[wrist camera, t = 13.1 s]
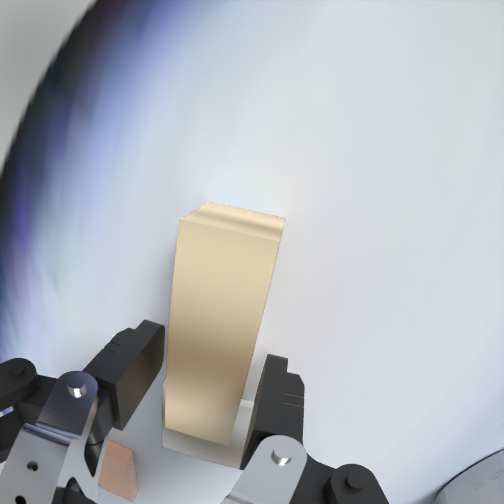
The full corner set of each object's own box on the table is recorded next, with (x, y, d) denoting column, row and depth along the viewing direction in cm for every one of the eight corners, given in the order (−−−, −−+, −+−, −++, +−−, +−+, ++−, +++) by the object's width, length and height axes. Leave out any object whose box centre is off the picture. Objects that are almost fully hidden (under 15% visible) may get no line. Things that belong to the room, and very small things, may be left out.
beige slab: (183, 195, 12) (145, 211, 9) (314, 224, 11) (320, 250, 8) (165, 440, 16) (147, 477, 13) (242, 462, 16) (233, 502, 13)
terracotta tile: (55, 427, 17) (75, 473, 19) (125, 463, 16) (133, 501, 19) (66, 413, 18) (82, 461, 21) (134, 446, 18) (139, 488, 21)
